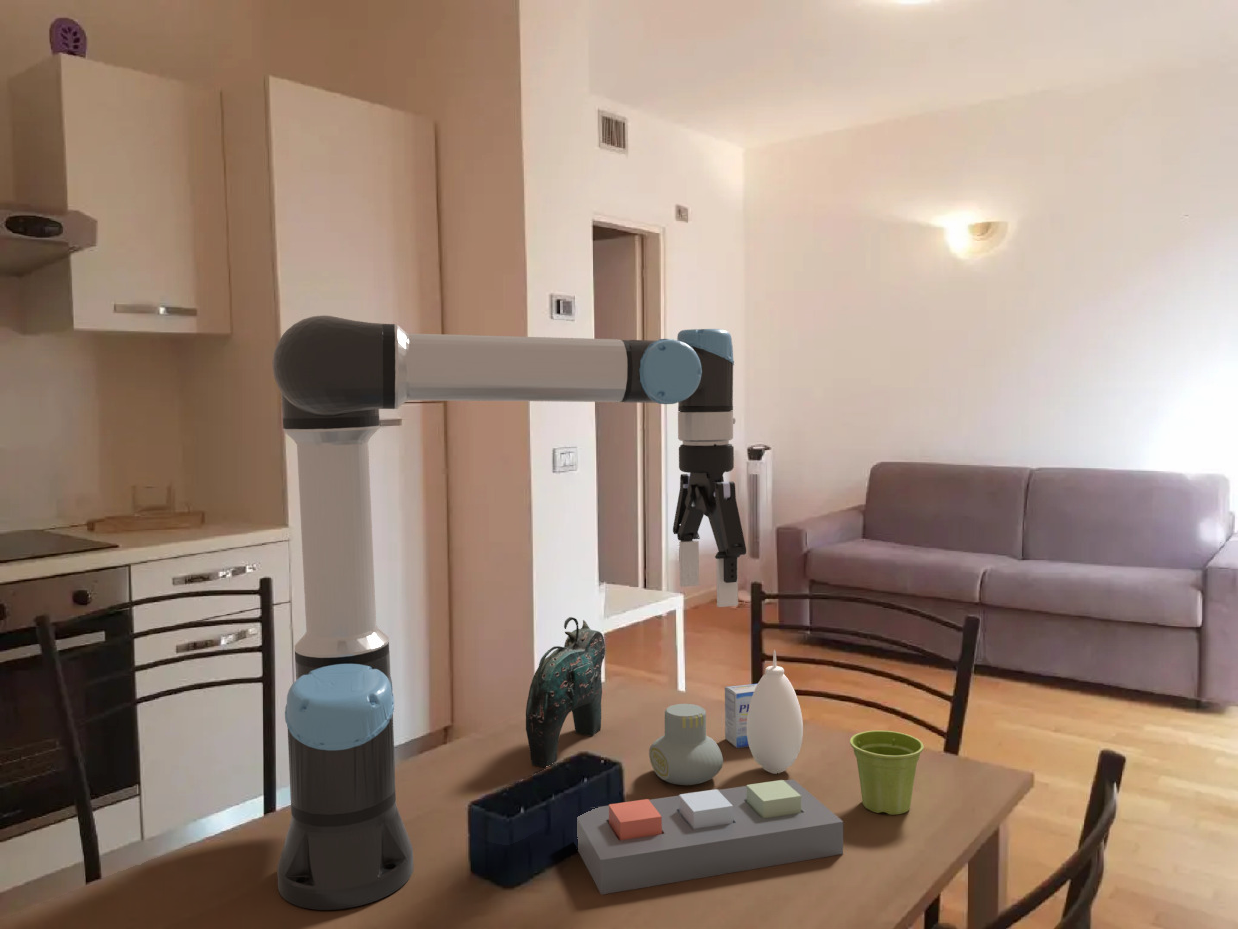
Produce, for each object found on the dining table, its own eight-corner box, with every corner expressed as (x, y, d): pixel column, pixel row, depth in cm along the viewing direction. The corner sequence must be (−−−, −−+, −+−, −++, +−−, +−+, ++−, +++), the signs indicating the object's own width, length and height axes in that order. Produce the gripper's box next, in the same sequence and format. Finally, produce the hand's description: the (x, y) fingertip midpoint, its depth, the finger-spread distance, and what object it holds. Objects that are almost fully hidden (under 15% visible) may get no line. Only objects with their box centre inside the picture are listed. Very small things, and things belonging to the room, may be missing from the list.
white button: (693, 836, 115) (693, 811, 115) (679, 818, 120) (679, 794, 119) (733, 830, 116) (732, 806, 116) (717, 812, 121) (717, 789, 121)
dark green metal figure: (581, 723, 162) (579, 605, 160) (616, 728, 159) (614, 608, 158) (518, 766, 144) (515, 633, 143) (556, 773, 141) (553, 638, 140)
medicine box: (735, 749, 150) (735, 694, 149) (724, 739, 154) (724, 685, 153) (782, 743, 152) (782, 689, 151) (769, 733, 156) (769, 680, 155)
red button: (620, 847, 112) (620, 822, 112) (609, 828, 117) (608, 804, 117) (661, 841, 114) (661, 816, 113) (648, 822, 118) (648, 799, 118)
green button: (763, 825, 117) (763, 801, 117) (746, 808, 122) (746, 785, 122) (801, 819, 119) (801, 795, 118) (782, 802, 124) (782, 779, 123)
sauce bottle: (736, 770, 141) (735, 649, 140) (772, 756, 146) (771, 639, 145) (777, 787, 135) (777, 660, 134) (813, 772, 140) (813, 650, 139)
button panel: (601, 894, 108) (600, 860, 107) (573, 842, 120) (572, 810, 120) (843, 854, 116) (843, 821, 116) (793, 808, 129) (793, 779, 128)
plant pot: (834, 800, 131) (835, 737, 130) (887, 785, 135) (888, 725, 135) (883, 827, 123) (884, 761, 122) (938, 811, 127) (939, 747, 126)
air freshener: (729, 787, 136) (729, 718, 135) (675, 797, 133) (675, 726, 132) (694, 759, 146) (694, 694, 145) (644, 768, 143) (643, 702, 142)
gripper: (771, 447, 122) (772, 612, 124) (697, 437, 146) (698, 576, 148) (716, 449, 120) (718, 618, 122) (650, 438, 144) (652, 580, 146)
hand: (707, 595), depth 135 cm, fingers open, 13 cm apart
